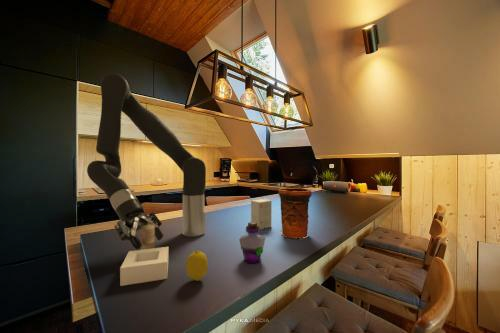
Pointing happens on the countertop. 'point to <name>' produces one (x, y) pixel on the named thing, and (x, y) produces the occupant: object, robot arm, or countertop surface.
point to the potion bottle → (252, 244)
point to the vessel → (294, 211)
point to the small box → (261, 213)
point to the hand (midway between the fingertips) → (151, 242)
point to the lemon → (197, 265)
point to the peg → (148, 237)
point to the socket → (144, 266)
